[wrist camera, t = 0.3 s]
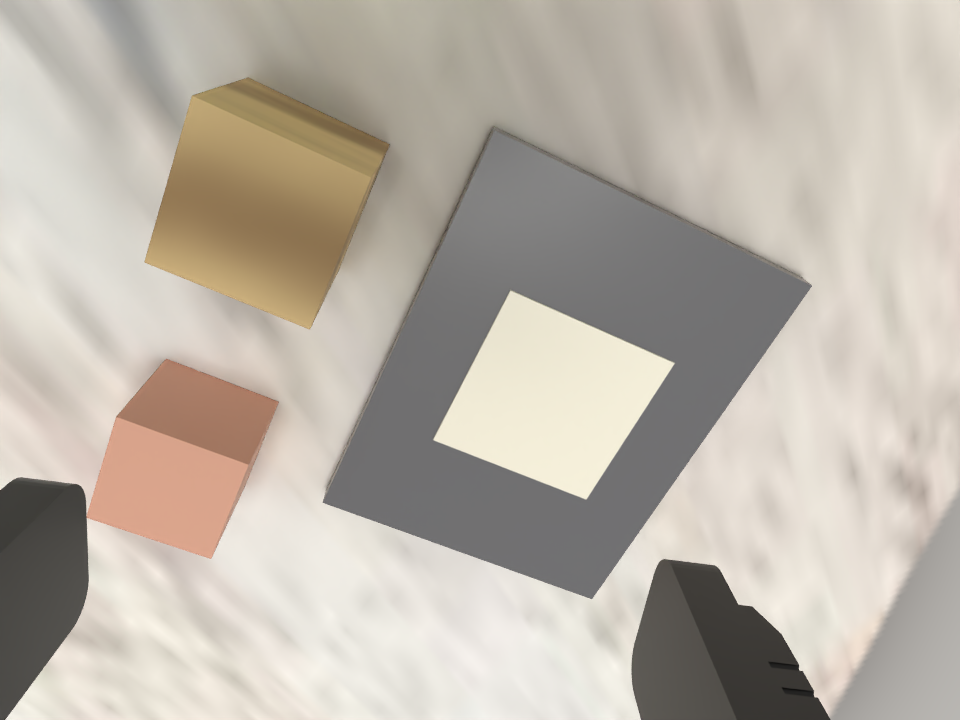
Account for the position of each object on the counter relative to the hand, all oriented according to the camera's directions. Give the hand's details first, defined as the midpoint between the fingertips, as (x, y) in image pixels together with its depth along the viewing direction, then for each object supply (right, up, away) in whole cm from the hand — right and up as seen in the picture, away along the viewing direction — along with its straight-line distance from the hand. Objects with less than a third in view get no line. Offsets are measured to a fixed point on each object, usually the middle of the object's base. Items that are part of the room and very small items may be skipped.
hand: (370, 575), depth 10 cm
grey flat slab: (+5, +2, +22) cm, 22 cm away
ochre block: (-5, +10, +18) cm, 21 cm away
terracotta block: (-11, 0, +22) cm, 25 cm away
